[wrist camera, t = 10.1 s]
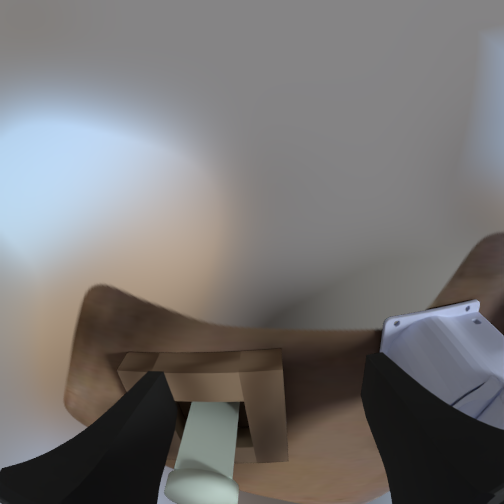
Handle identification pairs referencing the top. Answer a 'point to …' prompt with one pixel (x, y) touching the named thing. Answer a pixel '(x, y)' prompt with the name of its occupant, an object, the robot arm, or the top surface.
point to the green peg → (206, 456)
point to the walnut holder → (224, 393)
